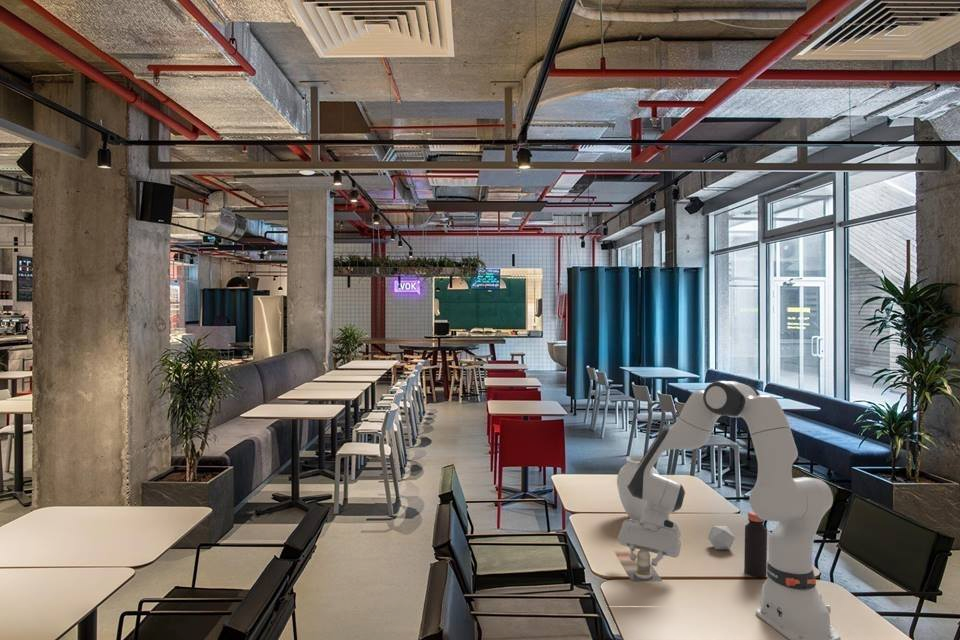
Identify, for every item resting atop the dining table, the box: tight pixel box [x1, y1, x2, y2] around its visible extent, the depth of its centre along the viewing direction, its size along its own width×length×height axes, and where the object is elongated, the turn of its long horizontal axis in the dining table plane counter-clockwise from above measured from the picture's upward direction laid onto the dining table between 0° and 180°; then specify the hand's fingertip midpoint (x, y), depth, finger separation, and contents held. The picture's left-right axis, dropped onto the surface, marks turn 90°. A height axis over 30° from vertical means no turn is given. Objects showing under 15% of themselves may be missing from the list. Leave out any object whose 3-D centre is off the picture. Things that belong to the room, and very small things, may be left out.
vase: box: [616, 455, 660, 521], centre depth 256 cm, size 18×18×25 cm
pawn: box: [635, 549, 653, 580], centre depth 202 cm, size 6×6×9 cm
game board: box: [614, 550, 663, 582], centre depth 210 cm, size 24×10×1 cm, turn 1°
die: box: [707, 525, 736, 551], centre depth 226 cm, size 8×9×10 cm
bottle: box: [743, 510, 768, 578], centre depth 205 cm, size 7×7×20 cm
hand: (643, 562), depth 201 cm, fingers open, 6 cm apart
